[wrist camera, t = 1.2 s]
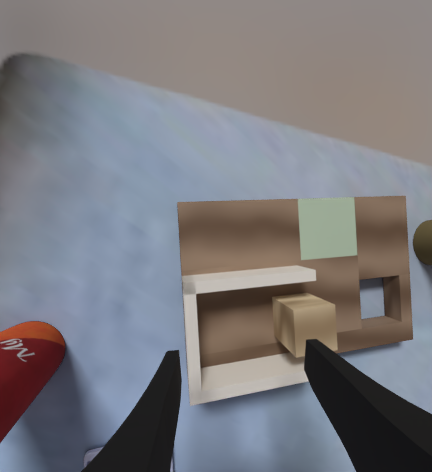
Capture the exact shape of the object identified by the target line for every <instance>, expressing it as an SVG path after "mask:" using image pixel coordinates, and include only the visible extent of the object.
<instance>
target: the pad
mask: <svg viewBox="0 0 432 472" xmlns="http://www.w3.org/2000/svg"><path fill="white" fill-rule="evenodd" d="M298 213H299V231H300V249H301V260H309V259H320V258H332V257H343V256H355V255H357V239H356V220H355V202H354V197H349V198H313V199H298Z"/></svg>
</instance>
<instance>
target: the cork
mask: <svg viewBox="0 0 432 472" xmlns="http://www.w3.org/2000/svg"><path fill="white" fill-rule="evenodd" d="M413 247H414V251H415V254H416V256H417V257H418V259H419V260H420V261H421V262H423V263H424V264H427V265H432V220H428V221H425V222H423V223H422V224H420V225H419V227H418V228H417V229H416V232H415V234H414V239H413Z"/></svg>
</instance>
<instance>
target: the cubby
mask: <svg viewBox="0 0 432 472" xmlns="http://www.w3.org/2000/svg"><path fill="white" fill-rule="evenodd" d="M309 281H316V270H314V269H310V268H306V267H302V266H298V265H296V266H285V267H274V268H264V269H253V270H242V271H231V272H220V273H210V274H199V275H188V276H182V286H183V303H184V320H185V336H186V353H187V370H188V385H189V397H190V406H192V405H197V404H202V403H206V402H211V401H216V400H221V399H226V398H230V397H235V396H240V395H245V394H250V393H255V392H259V391H264V390H269V389H274V388H279V387H284V386H288V385H293V384H298V383H303V382H308V378H307V376H306V373H305V371H304V360H305V356H302V357H297V358H296V357H295V356H294V355H293V354H292V353H291V352H290V353H284V354H278V355H273V356H267V357H261V358H256V359H250V360H244V361H238V362H233V363H227V364H221V365H216V366H210V367H204V368H200V353H199V337H198V320H197V303H196V294H199V293H208V292H217V291H227V290H236V289H245V288H254V287H263V286H272V285H281V284H291V283H300V282H309Z"/></svg>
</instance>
